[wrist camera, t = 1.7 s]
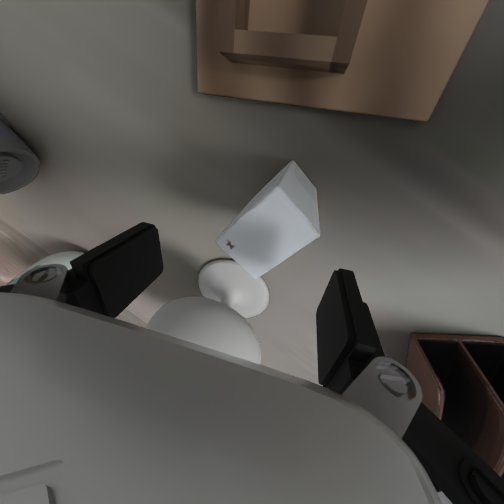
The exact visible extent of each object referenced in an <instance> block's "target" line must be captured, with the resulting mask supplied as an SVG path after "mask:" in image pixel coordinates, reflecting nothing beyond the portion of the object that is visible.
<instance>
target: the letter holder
mask: <svg viewBox="0 0 504 504" xmlns="http://www.w3.org/2000/svg"><path fill="white" fill-rule="evenodd" d="M405 368H406V369H408V370H409V371H410V372H411V373H412V375H413V376H414V377H415V378H416V380H417V381H418V383H419V385H420V387H421V390H422V395H423V396H422V401H421V402H422V403H423V404H424V405H425V406H426V407H427V408H428V409H429V410H431V411H432V412H433V413H434V414H435V415H436V416H437V417H438V418H439V419H440V420H441V421H442V422H443V423H444V424H445V425H446V426H448V427H449V428H450V429H451V430H452V431H453V432H454V433H455V434H456V435H457V436H458V437H459V438H460V439H461V440H462V441H463V442H465V443H466V444H467V445H468V446H469V447H470V448H471V449H472V450H473V451H474V452H475V453H476V454H477V455H478V456H479V457H480V458H481V459H483V460H484V461H485V462H486V463H487V464H488V465H489V466H490V467H491V468H492V469H493V470H494V471H495V472H496V473H497V474H498V475H499V476H500V477H501V478H502V479H503V480H504V337H497V336H474V335H451V334H429V333H411V338H410V344H409V350H408V356H407V362H406V367H405Z"/></svg>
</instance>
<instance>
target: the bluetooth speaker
mask: <svg viewBox="0 0 504 504" xmlns="http://www.w3.org/2000/svg"><path fill="white" fill-rule="evenodd" d="M39 167H40V161H39V159H38V158H37V156H36V155H35V154H34V153H33V152H32V151H31V150H30V148H29V147H28V146H27V145H26V144H25V143H24V142H23V141H22V140H21V139H20V138H19V137H18V136H17V135H16V134H15V133H14V132H13V131H12V130H11V126H10V124H9V123H8V121H7V120H6V119H5V118H4V117H3V116H2V115H1V114H0V194H5V193H9V192H13V191H15V190H18V189H20V188H22V187H24V186H26V185H27V184H29V183H30V182H32V181H33V180H34V179H35V177H36V176H37V174H38V171H39Z"/></svg>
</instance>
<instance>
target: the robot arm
mask: <svg viewBox="0 0 504 504" xmlns="http://www.w3.org/2000/svg"><path fill="white" fill-rule="evenodd" d="M70 264H71V267H72V269H70V270H68V269H67V267H66V266H64V265H62V264H48V265H43V266H40V267H36V268H34V269H32V270H29V271H27V272H26V273H24V274H23V275H22V276H21V277H20V278H19V280H18V281H17V283H16V284H11V285H6V286H1V287H0V504H504V480H503V479H502V478H501V477H500V476H499V475H498V474H497V473H496V472H495V471H494V470H493V469H492V468H491V467H490V466H489V465H488V464H487V463H486V462H485V461H484V460H483V459H481V458H480V457H479V456H478V455H477V454H476V453H475V452H474V451H473V450H472V449H471V448H470V447H469V446H468V445H467V444H466V443H465V442H463V441H462V440H461V439H460V438H459V437H458V436H457V435H456V434H455V433H454V432H453V431H452V430H451V429H450V428H449V427H448V426H446V425H445V424H444V423H443V422H442V421H441V420H440V419H439V418H438V417H437V416H436V415H435V414H434V413H433V412H432V411H431V410H429V409H428V408H427V407H426V406H425V405H424V404H423V403H422V402H421V401H422V396H423V395H422V390H421V387H420V385H419V383H418V381H417V380H416V378H415V377H414V376H413V375H412V373H411V372H410V371H409V370H408V369H406V368H405V367H404V366H403V365H401V364H400V363H399V362H397V361H395V360H393V359H391V358H387V357H385V356H384V353H383V350H382V347H381V344H380V341H379V338H378V335H377V332H376V329H375V326H374V323H373V320H372V317H371V314H370V311H369V308H368V306H367V304H366V303H364V302H363V301H362V298H361V295H360V292H359V289H358V285H357V282H356V279H355V276H354V273H353V271H349V270H345V269H341V268H340V269H339V270H338V271H336V270H335V271H334V272H333V274H332V276H331V279H330V281H329V283H328V286H327V288H326V290H325V292H324V295H323V297H322V299H321V302H320V304H319V306H318V309H317V313H316V325H317V352H318V379H319V384H321V385H323V387H322V386H320V385H317V384H315V383H312V382H310V381H307V380H304V379H301V378H298V377H295V376H293V375H290V374H287V373H284V372H281V371H278V370H275V369H272V368H269V367H266V366H263V365H260V364H257V363H254V362H251V361H248V360H245V359H241V358H238V357H235V356H232V355H229V354H226V353H223V352H220V351H217V350H213V349H210V348H207V347H204V346H201V345H198V344H195V343H191V342H188V341H185V340H182V339H179V338H176V337H173V336H169V335H166V334H163V333H160V332H157V331H153V330H150V329H147V328H144V327H141V326H138V325H134V324H131V323H128V322H125V321H121V320H118V319H115V317H117V316H118V315H119V314H120V313H121V312H122V311H123V310H124V309H125V308H126V307H127V306H128V305H129V304H130V303H131V302H132V301H133V300H134V299H135V298H136V297H137V296H139V295H140V294H141V293H142V292H143V291H144V290H145V289H146V288H147V287H148V286H149V285H150V284H151V283H152V282H153V281H154V280H155V279H156V278H157V277H158V276H159V275H160V274H161V273H162V272H163V262H162V255H161V248H160V241H159V234H158V229H157V228H156V227H155V225H153V224H149V223H145V222H142V223H140V224H138V225H136V226H134V227H132V228H130V229H128V230H127V231H125V232H123V233H121V234H119V235H117V236H116V237H114V238H112V239H110V240H108V241H106V242H105V243H103V244H101V245H99V246H97V247H95V248H94V249H92V250H90V251H88V252H86V253H84V254H82V255H81V256H79V257H77V258H75V259H73V260H71V261H70Z"/></svg>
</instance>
